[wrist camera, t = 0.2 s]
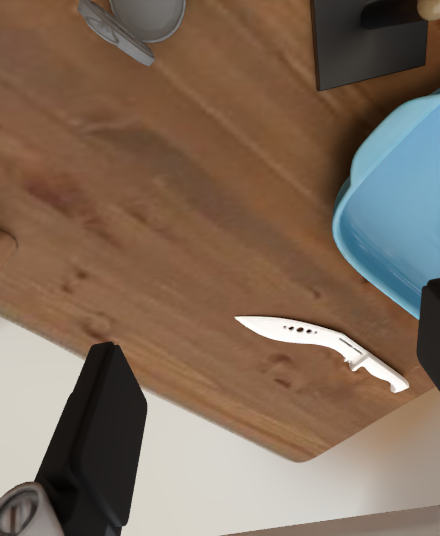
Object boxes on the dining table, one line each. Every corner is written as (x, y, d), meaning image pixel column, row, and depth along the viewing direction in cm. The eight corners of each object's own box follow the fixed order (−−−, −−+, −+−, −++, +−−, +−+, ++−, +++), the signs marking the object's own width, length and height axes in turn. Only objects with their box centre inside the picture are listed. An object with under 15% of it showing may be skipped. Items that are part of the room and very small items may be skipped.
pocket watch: (187, -47, 30) (178, -89, 21) (185, 67, 34) (176, 71, 26) (88, -57, 29) (38, -105, 21) (98, 60, 34) (60, 61, 25)
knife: (233, 321, 49) (271, 284, 46) (232, 314, 51) (269, 278, 47) (373, 412, 58) (413, 386, 55) (370, 403, 60) (408, 378, 57)
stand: (307, -37, 30) (362, -90, 20) (426, -70, 30) (554, -145, 19) (316, 90, 36) (365, 104, 25) (419, 65, 35) (516, 68, 24)
